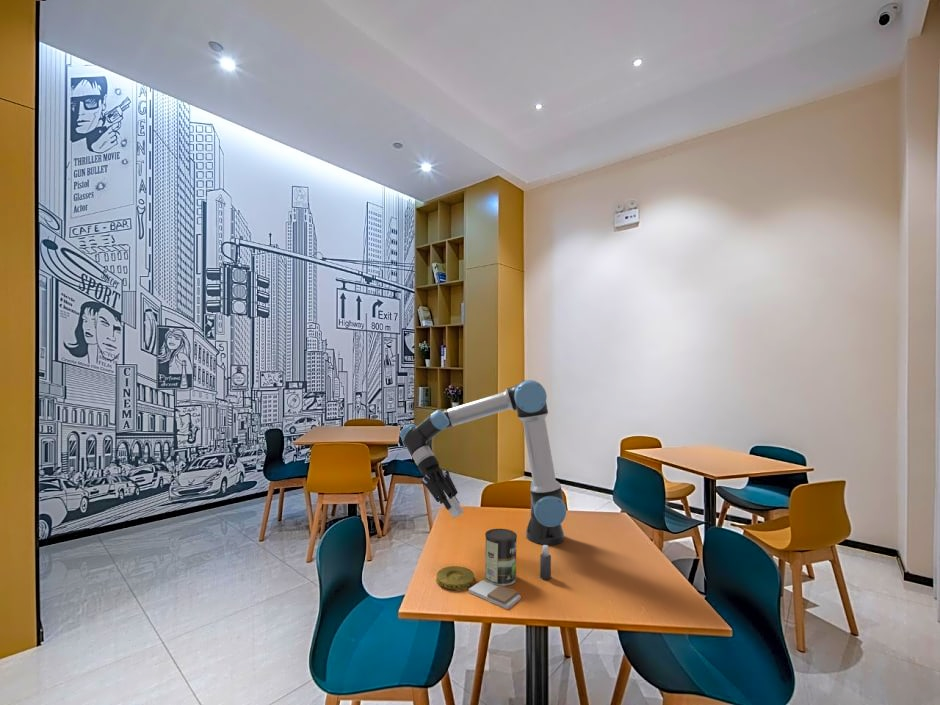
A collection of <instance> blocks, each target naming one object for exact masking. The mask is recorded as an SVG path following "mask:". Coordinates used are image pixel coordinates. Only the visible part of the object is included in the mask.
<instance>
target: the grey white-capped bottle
mask: <svg viewBox="0 0 940 705" xmlns="http://www.w3.org/2000/svg"><path fill="white" fill-rule="evenodd" d="M549 548H550V547H549V545H546V544H542V553H541V554H540V556H539V557H540V558H539V559H540V560H539V561H540V563H539V578H540V579H541V580H543V581H549V580H551V578H552V575H551V574H552V569H551V568H552V565H551V564H552V555H551V554H550V550H549Z"/></svg>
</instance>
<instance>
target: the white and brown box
mask: <svg viewBox="0 0 940 705" xmlns="http://www.w3.org/2000/svg"><path fill="white" fill-rule="evenodd" d="M468 593H469V594H472V595H473V596H476V597H477V598H478V597H479V598H481V599H483V600H484V601H487V602H490V603H492V604H493V605H494V604H495V605H497V606H499V607H501V608H504V609H506V610H509V609H510V608H512V606H514V605H515V604H516V603H517V602H519V601H520V600H521V597H522V596H521V595H520V594H518V593H519V592H518V591H517V590H515V589H512V588H509V587H508V586H502V585H500V586H496V585H493V584H490V583H488V582H487V581H486V580H480V581H479V582H478V583H475V584H474V585H473V586H470V587H468Z"/></svg>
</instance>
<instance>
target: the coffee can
mask: <svg viewBox="0 0 940 705" xmlns="http://www.w3.org/2000/svg"><path fill="white" fill-rule="evenodd" d="M484 536H485V548H484V549H485V551H484V554H485V558H484V559H485V561H484V562H485V564H484V565H485V566H484V581H486V582H488V583H490V584H493V585H495V586H498V587H499V586H500V585H502V586H505V587H508V586H511V585H513V584H515V583H516V581H517V538H518V534H517V533H516V532H515V531H513V530H511V529H506V528H491V529H488V530H487V531H485V533H484Z"/></svg>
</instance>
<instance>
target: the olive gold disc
mask: <svg viewBox="0 0 940 705" xmlns="http://www.w3.org/2000/svg"><path fill="white" fill-rule="evenodd" d="M437 571H438V572H436V585H437V586H439V588H445V589H448V590H455V591H456V592H457V591H458V592H459V591H464V590H467V589H468V588H470V587H471V586H472V585H473V584H474V582H475V574H474V571H473V570H472V569H469V568H467V567H464V566H457V565H454V566H453V565H452V566H446V567H443V568H441V569H439V570H437Z"/></svg>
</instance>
